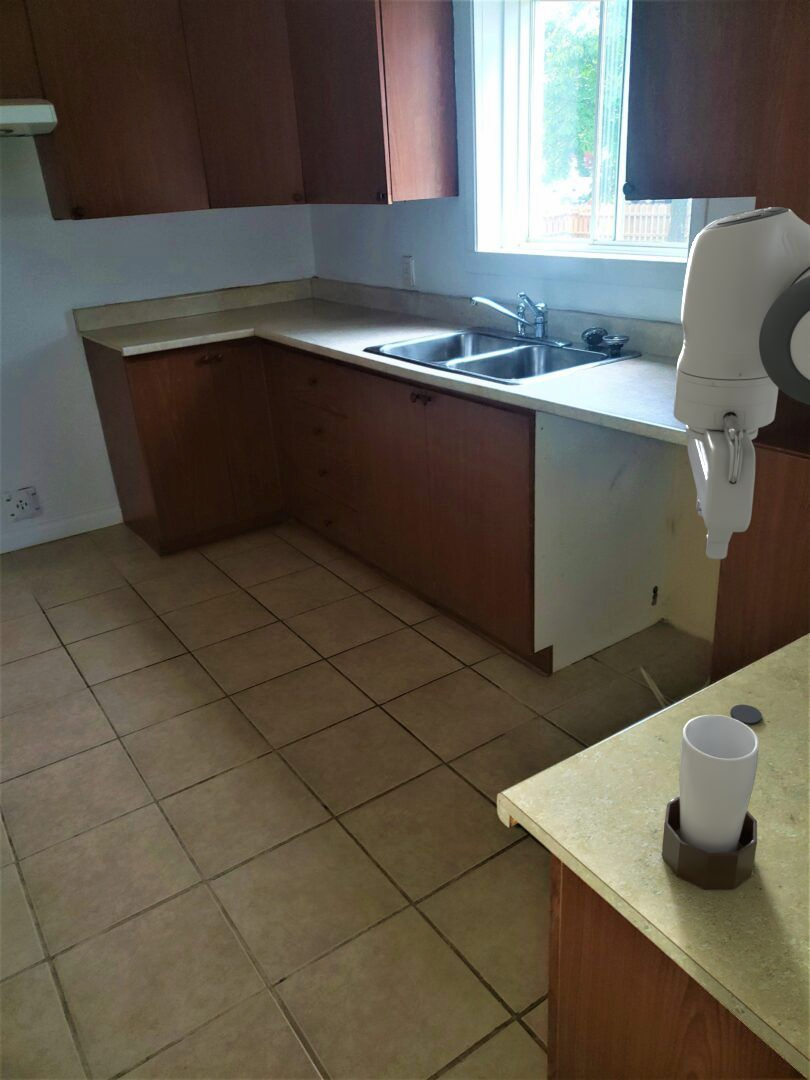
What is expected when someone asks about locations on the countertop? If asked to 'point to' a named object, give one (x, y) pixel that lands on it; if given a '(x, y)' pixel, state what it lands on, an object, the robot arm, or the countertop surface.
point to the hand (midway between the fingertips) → (710, 534)
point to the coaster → (746, 714)
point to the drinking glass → (715, 781)
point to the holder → (708, 855)
